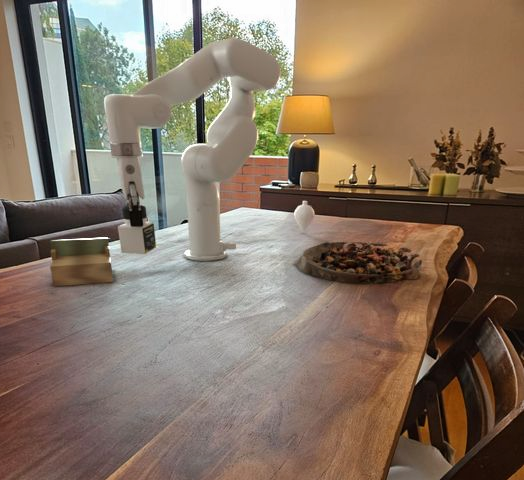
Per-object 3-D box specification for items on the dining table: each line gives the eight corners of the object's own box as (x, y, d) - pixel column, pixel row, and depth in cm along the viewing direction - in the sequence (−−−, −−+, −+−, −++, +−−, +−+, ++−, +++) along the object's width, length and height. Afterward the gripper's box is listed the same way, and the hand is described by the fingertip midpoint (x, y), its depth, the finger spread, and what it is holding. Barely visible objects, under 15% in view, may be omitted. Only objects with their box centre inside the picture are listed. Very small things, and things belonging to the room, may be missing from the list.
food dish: (439, 272, 131) (444, 245, 128) (380, 301, 110) (385, 269, 106) (338, 248, 152) (341, 224, 149) (272, 268, 131) (273, 241, 127)
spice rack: (111, 270, 125) (107, 237, 121) (113, 281, 116) (108, 246, 112) (56, 274, 121) (50, 240, 117) (53, 286, 111) (46, 249, 108)
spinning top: (314, 235, 173) (316, 202, 167) (293, 235, 173) (295, 202, 168) (312, 231, 179) (314, 199, 174) (293, 231, 180) (294, 199, 174)
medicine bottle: (146, 254, 121) (140, 207, 115) (121, 253, 122) (114, 206, 117) (156, 247, 127) (151, 203, 122) (133, 246, 128) (127, 202, 123)
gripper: (145, 152, 107) (153, 228, 115) (139, 149, 122) (146, 217, 130) (112, 153, 105) (123, 230, 113) (109, 149, 120) (119, 218, 128)
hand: (135, 223), depth 121 cm, fingers closed on medicine bottle, 7 cm apart
